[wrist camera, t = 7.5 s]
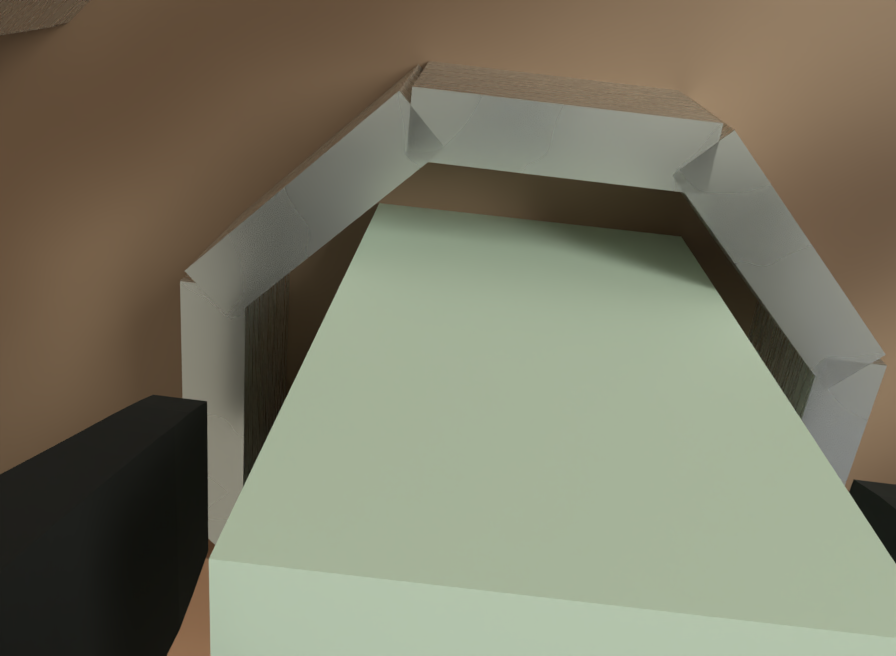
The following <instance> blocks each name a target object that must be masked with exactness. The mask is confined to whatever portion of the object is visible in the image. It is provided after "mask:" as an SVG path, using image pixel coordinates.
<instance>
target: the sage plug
mask: <svg viewBox="0 0 896 656" xmlns="http://www.w3.org/2000/svg"><path fill="white" fill-rule="evenodd" d="M209 601H210V656H896V563H895V562H894V560H893V559H892V557H891V556H890V554H889V553H888V551H887V550H886V548H885V547H884V545H883V544H882V542H881V541H880V539H879V537H878V536H877V534H876V533H875V531H874V530H873V528H872V527H871V525H870V524H869V522H868V521H867V519H866V518H865V516H864V515H863V513H862V512H861V510H860V509H859V507H858V505H857V504H856V502H855V501H854V499H853V498H852V496H851V495H850V493H849V492H848V490H847V489H846V487H845V486H844V484H843V483H842V481H841V480H840V478H839V476H838V475H837V473H836V472H835V470H834V469H833V467H832V466H831V464H830V463H829V461H828V460H827V458H826V457H825V455H824V454H823V452H822V451H821V449H820V447H819V446H818V444H817V443H816V441H815V440H814V438H813V437H812V435H811V434H810V432H809V431H808V429H807V428H806V426H805V425H804V423H803V422H802V420H801V419H800V417H799V415H798V414H797V412H796V411H795V409H794V408H793V406H792V405H791V403H790V402H789V400H788V399H787V397H786V396H785V394H784V393H783V391H782V390H781V388H780V386H779V385H778V383H777V382H776V380H775V379H774V377H773V376H772V374H771V373H770V371H769V370H768V368H767V367H766V365H765V364H764V362H763V361H762V359H761V357H760V356H759V354H758V353H757V351H756V350H755V348H754V347H753V345H752V344H751V342H750V341H749V339H748V338H747V336H746V335H745V333H744V332H743V330H742V329H741V327H740V325H739V324H738V322H737V321H736V319H735V318H734V316H733V315H732V313H731V312H730V310H729V309H728V307H727V306H726V304H725V303H724V301H723V300H722V298H721V296H720V295H719V293H718V292H717V290H716V289H715V287H714V286H713V284H712V283H711V281H710V280H709V278H708V277H707V275H706V274H705V272H704V271H703V269H702V267H701V266H700V264H699V263H698V261H697V260H696V258H695V257H694V255H693V254H692V252H691V251H690V249H689V248H688V246H687V245H686V243H685V242H684V240H683V239H682V237H681V236H672V235H663V234H654V233H645V232H636V231H627V230H618V229H609V228H600V227H591V226H582V225H573V224H564V223H554V222H545V221H536V220H527V219H518V218H509V217H500V216H491V215H482V214H473V213H464V212H455V211H446V210H437V209H428V208H419V207H410V206H401V205H392V204H383V203H379V205H378V207H377V209H376V211H375V213H374V216H373V218H372V220H371V222H370V224H369V226H368V228H367V230H366V232H365V234H364V236H363V238H362V241H361V243H360V245H359V247H358V249H357V251H356V253H355V255H354V257H353V259H352V261H351V263H350V266H349V268H348V270H347V272H346V274H345V276H344V278H343V280H342V282H341V284H340V286H339V288H338V291H337V293H336V295H335V297H334V299H333V301H332V303H331V305H330V307H329V309H328V311H327V313H326V316H325V318H324V320H323V322H322V324H321V326H320V328H319V330H318V332H317V334H316V336H315V339H314V341H313V343H312V345H311V347H310V349H309V351H308V353H307V355H306V357H305V359H304V361H303V364H302V366H301V368H300V370H299V372H298V374H297V376H296V378H295V380H294V382H293V384H292V386H291V389H290V391H289V393H288V395H287V397H286V399H285V401H284V403H283V405H282V407H281V409H280V411H279V414H278V416H277V418H276V420H275V422H274V424H273V426H272V428H271V430H270V432H269V434H268V436H267V439H266V441H265V443H264V445H263V447H262V449H261V451H260V453H259V455H258V457H257V459H256V461H255V464H254V466H253V468H252V470H251V472H250V474H249V476H248V478H247V480H246V482H245V484H244V487H243V489H242V491H241V493H240V495H239V497H238V499H237V501H236V503H235V505H234V507H233V509H232V512H231V514H230V516H229V518H228V520H227V522H226V524H225V526H224V528H223V530H222V532H221V534H220V537H219V539H218V541H217V543H216V545H215V547H214V549H213V551H212V553H211V555H210V557H209Z"/></svg>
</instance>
